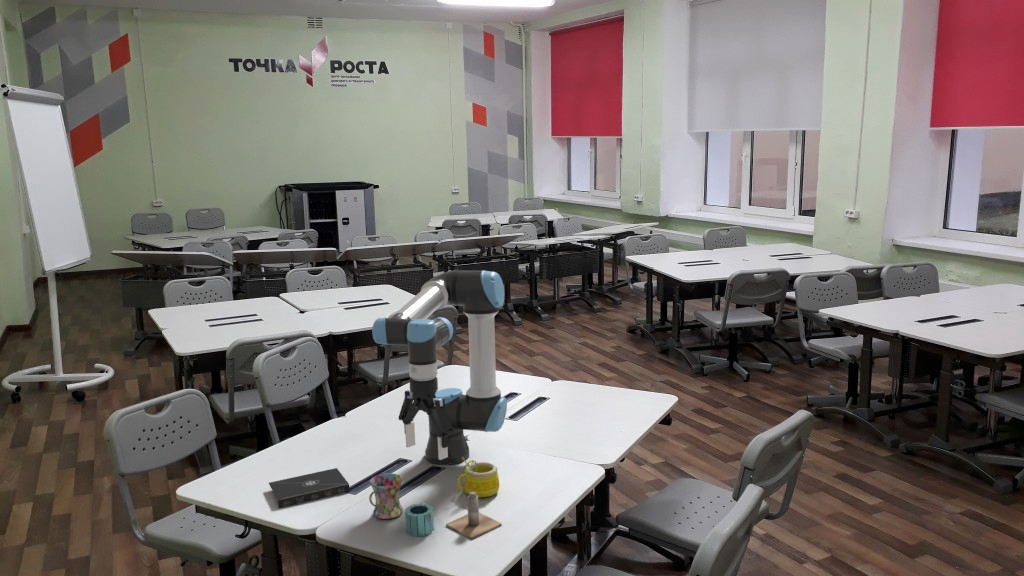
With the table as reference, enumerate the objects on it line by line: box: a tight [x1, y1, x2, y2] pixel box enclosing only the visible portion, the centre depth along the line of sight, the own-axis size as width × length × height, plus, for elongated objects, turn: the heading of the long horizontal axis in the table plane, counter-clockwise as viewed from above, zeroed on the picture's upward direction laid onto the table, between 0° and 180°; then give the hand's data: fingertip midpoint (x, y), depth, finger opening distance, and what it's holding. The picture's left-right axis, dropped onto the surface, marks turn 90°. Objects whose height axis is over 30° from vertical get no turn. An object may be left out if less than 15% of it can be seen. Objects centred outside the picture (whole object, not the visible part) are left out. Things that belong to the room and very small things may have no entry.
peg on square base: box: [445, 492, 503, 541], centre depth 213 cm, size 11×11×10 cm
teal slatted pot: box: [404, 503, 435, 538], centre depth 212 cm, size 8×8×6 cm
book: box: [268, 467, 351, 509], centre depth 238 cm, size 22×15×3 cm
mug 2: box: [457, 457, 500, 499], centre depth 234 cm, size 13×11×12 cm
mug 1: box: [368, 472, 404, 520], centre depth 220 cm, size 12×9×11 cm
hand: (426, 452), depth 209 cm, fingers open, 13 cm apart
